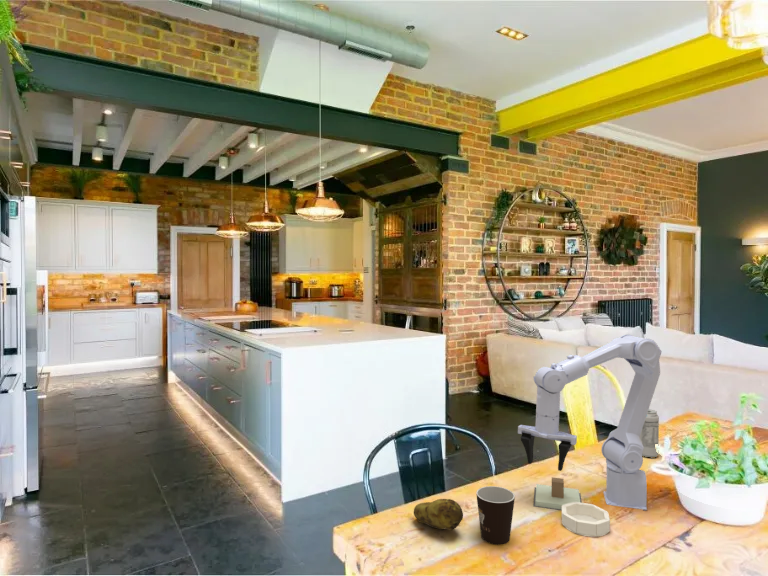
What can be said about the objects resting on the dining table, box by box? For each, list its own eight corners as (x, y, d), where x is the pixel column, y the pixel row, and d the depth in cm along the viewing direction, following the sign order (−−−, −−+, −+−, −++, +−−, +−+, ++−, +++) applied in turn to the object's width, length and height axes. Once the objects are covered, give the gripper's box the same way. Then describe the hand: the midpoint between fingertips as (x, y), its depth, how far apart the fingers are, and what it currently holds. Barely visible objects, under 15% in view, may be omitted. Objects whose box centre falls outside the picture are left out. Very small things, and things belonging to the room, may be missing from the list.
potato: (438, 513, 124) (438, 482, 123) (468, 538, 112) (468, 503, 112) (410, 520, 120) (409, 488, 120) (437, 546, 108) (437, 511, 108)
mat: (580, 494, 134) (580, 493, 134) (583, 514, 122) (583, 513, 122) (534, 488, 138) (534, 487, 138) (533, 507, 126) (533, 506, 126)
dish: (606, 519, 120) (606, 506, 120) (611, 541, 110) (611, 526, 110) (561, 513, 123) (561, 499, 123) (562, 533, 113) (562, 519, 113)
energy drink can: (656, 453, 164) (657, 409, 164) (659, 460, 158) (660, 414, 158) (636, 451, 166) (637, 407, 166) (638, 457, 161) (639, 412, 160)
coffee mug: (515, 549, 107) (516, 504, 107) (475, 545, 109) (476, 501, 109) (512, 523, 118) (512, 482, 118) (476, 519, 120) (476, 479, 120)
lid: (578, 493, 133) (578, 474, 133) (581, 512, 123) (581, 491, 123) (536, 488, 137) (536, 469, 137) (535, 505, 127) (535, 485, 126)
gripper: (515, 412, 128) (512, 463, 128) (573, 423, 120) (571, 477, 120) (523, 406, 134) (521, 456, 134) (579, 416, 126) (576, 469, 126)
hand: (545, 465), depth 127 cm, fingers open, 7 cm apart
